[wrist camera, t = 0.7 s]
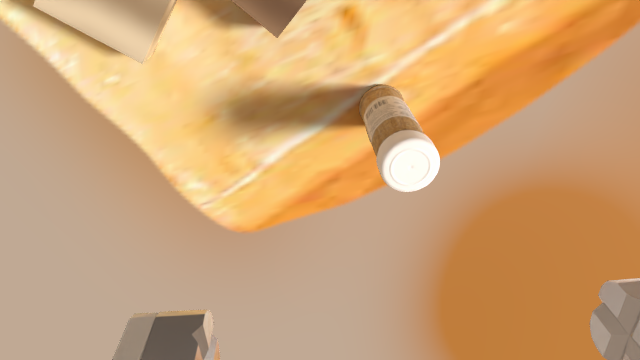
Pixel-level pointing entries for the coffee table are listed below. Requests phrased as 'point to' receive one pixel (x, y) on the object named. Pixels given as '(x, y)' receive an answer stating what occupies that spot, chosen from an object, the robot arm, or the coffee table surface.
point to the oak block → (115, 22)
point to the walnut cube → (271, 12)
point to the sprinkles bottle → (398, 140)
